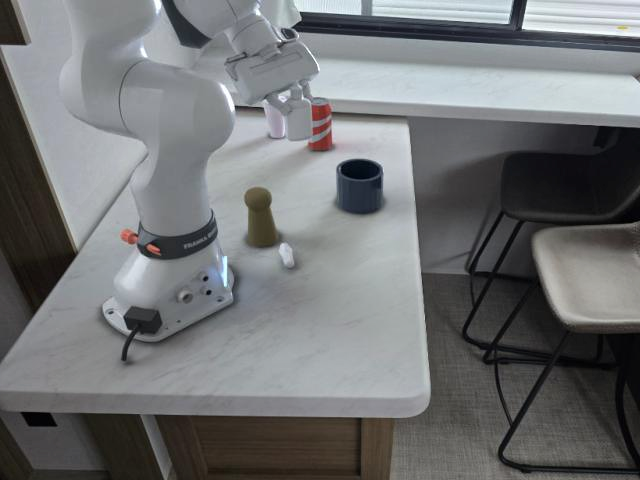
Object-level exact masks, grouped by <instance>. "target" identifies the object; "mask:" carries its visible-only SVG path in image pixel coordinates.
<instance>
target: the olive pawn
mask: <svg viewBox="0 0 640 480" xmlns="http://www.w3.org/2000/svg"><path fill="white" fill-rule="evenodd" d="M243 201H244V204H245V207H247V209H248V210H247V213H248V214H247V242H248V243H249V244H250V245H252V246H253V247H257V248H268V247H271V246H273V245H275V244H276V243H277V242H278V240H279V234H278V231H277V226H276V222H275V219H274V216H273V211H272V208H271V206H272V203H273V202H272V201H273V195H272V193H271V191H269V190H268V188H266V187H262V186H254V187H251V188H249V189H247V190H246V191H245V193H244V195H243Z"/></svg>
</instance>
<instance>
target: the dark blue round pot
mask: <svg viewBox="0 0 640 480" xmlns="http://www.w3.org/2000/svg"><path fill="white" fill-rule="evenodd" d="M384 171H385V170H384V167H383V166H382V164H380V163H379V162H377V161H375V160H372V159H369V158H368V159H367V158H360V157H359V158H357V157H355V158H350V159H346V160H343V161H341V162H340V163H339V164H338V165H336V169H335V181H336V184H335V185H336V204H337V205H338V207H339V208H340V209H341V210H343V211H345V212H347V213H351V214H355V215H356V214H358V215H359V214H360V215H364V214H370V213H374V212H376V211H378V210H379V209H380V208H381V207H382V205H383V201H384V199H383V198H384V196H383V195H384V176H385V175H384V174H385V172H384Z"/></svg>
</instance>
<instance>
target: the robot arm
mask: <svg viewBox="0 0 640 480" xmlns="http://www.w3.org/2000/svg"><path fill="white" fill-rule="evenodd" d="M61 2H62V5H63V8H64V10H65V14H66V16H67V19H68V20H67V21H68V23H69V27H70V33H71V43H72V44H71V54H70V57H69V59H68V60H67V61H65V63H64V65H63V66H62V68H61V71H60V74H59V79H58V92H59V97H60V99H61V102H62V104H63V106H64V108H65V109H66V111H67V113H69V114H70V115H71V116H72V117H74V118H75V119H77V120H79V122H80V121H81V122H83V123H84V124H86V125H88V126H90V127H92V128H95V129H96V130H99V131H101V132H103V133H107V134H111V135H116V136H120V137H125V138H129V139H132V140H137V141H140V142H141V143H142V144H143V145H144V146H145V148H146V151H147V155H148V158H147V159H145V160H144V161H142V162H141V163H140V164H138V165H137V167H135V169H134V171H133V172H132V175H131V176H130V181H129V187H130V191H131V194H132V197H133V201H134V204H135V207H136V210H137V215H138V217H139V221H138V228H137V233H136V232H133V231H132V230H131V229H128V228H126V229H123V230H122V231H121V232H120V237H119V238H120V239H121V241H123V242H124V243H127V244H128V245H136V246H135V248H134V249H133V251H131V254H130V255H128V257H127V259H126V260H125V262H124V264H123V265H122V266H121V268H120V269H119V270H118V272H117V273H116V274H115V275H114V277H113V278H112V284H111V285H112V287H111V288H112V296H111V297H110V298H109V299H107V300H106V301H105V302H104V303H103V304H102V313H103V316H104V319H105V320H106V321H107V322H108V324H109V325H110V326H112V327H113V328H114V329H115V330H117V331H118V332H119V333H122V335H124V336H126V337H127V338H126V340H125V342H124V344H123V347H122V351H121V358H120V361H123V362H126V361H127V359H128V352H129V348H130V346H131V344H132V341H133V340H136V341H140V342H147V343H148V342H149V343H157V342H160V341H163V340H165V339H166V338H168V337H170V336H172V335H174V334H176V333H177V332H178V333H179V332H180V331H181V330H183V329H185V328H187V327H189V326H191V325H193V324H195V323H197V322H199V321H201V320H203V319H205V318H206V317H209V316H210V315H212V314H215V313H216V312H218V311H220V310H222V309H224V308H227V307H228V306H230V305H232V304H233V303H234V295H233V292H232V290H233V287H234V283H235V275H234V273H233V271H232V269H231V268H230V266H229V264H228V258H227V255H225V256H224V253H223V250H222V247H221V244H220V240H219V238H218V234H219V229H218V224H217V222H218V221H217V218H216V215H215V212H214V210H213V209H212V207H211V202H210V196H209V190H208V183H207V167H208V163H209V160H210V158H211V156H212V155H213V154H214V153H215V152H216V151H217V150H219V149H221V148H222V147H223V146H225V144H226V143H227V142H228V141H229V139H230V138H231V136H232V134H233V131H234V128H235V125H236V107H235V106H236V105H235V102H234V100H233V97H232V94H231V92H230V91H229V89H228V88H227V86H226V85H225V84H224V83H222V82H221V81H219V80H216V79H215V78H213V77H211V76H208V75H206V74H204V73H203V72H202V73H201V72H199V71H196V70H194V69H192V68H187V67H182V66H179V65H178V66H177V65H173V64H168V63H162V62H157V61H153V60H151V58H150V57H149V56H148V54H147V51H146V48H145V43H144V36H146V35H147V34H150V32H151V31H153V29H154V28H155V27H156V26H157V25H158V23H159V21H160V18H161V21H162V23H163V25H164V27H165V29H166V30H167V32H168V33H169V35H170V36H171V38H173V39H174V40H175V41H176V42H177V43H178V45H180V46H182V47H185V48H191V49H196V50H202V49H203V47H205V46H206V45H208V44H209V43H210V42H212V41H213V40H214V39H215V38H216V37H218V36H219V35H221V34H222V33H224V34H225V35H226V38H227V39H228V42H229V45H230V46H231V48H232V49H233V51H234V52H235V55H233V56H228V57H226V59H225V62H224V70H225V72H226V73H227V75H228V76H229V78H230V80H231V82H232V85H233V87H234V88H235V90H236V92H237V93H238V95H239V97H240V99H241V100H242V102H243V103H244V104H247V106H253V105H255V104H258V103H262V101H263V100H267V102H268V103H269V104H270V105H271V106H273V107H274V108H276V109H278V110H279V111H280V113H281V114H282V116H284V117H285V116H287V115H289V114H290V113H291V112H292V109H291V108H290V106H289V104H288V103H287V104H284V103H283V102H282V101H281V100H279V99H278V97H279V96H278V95H281V94H283V93H286V92H287V91H290V87H291V86H293V83H294V80H297V81H298V84H299V86H301V87H302V92H303V97H304V98H307V99H308V100H309V101H310V102H311V104H312V103H313V102H314V98H313V97H314V96H313V95H312V92H311V86H310V83H309V82H311V81H313V80H314V79H316V77H317V76H318V75H319V74H320V66H319V64H318V62H317V60H316V59H315V57H314V56H313V54H312V53H311V51H310V50H309V48H308V47H307V46H306V45H305V44H304V43H303V42H302V41H301V40H298V39H299V38H300V36H299V34H298V31H296V29H295V28H291V27H290V28H289V27H283V26H277V25H272V24H271V23H270V21H269V20H268V19H267V18H266V16H264V15H263V14H262V13H261V12H260V10H259V9H261V7H262V2H263V0H61Z"/></svg>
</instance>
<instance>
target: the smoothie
mask: <svg viewBox="0 0 640 480" xmlns="http://www.w3.org/2000/svg"><path fill="white" fill-rule="evenodd" d="M278 96H279V97H278V99H279V100H281V101H282V102H283V103H284V102H285V101H286V100H288V98H287V97H286V96H285V95H281V94H278ZM261 105H262V106H263V110H264V113H265V119H266V122H267V127H268V131H269V136H270V137H271V138H274V139H281V138H284V137H285V125H284V116H282V114H281V113H280V111H279V110H278V109H276V108H274V107H273V106H271V105H270V104H269V103H268V102H267V100H263V101H261Z"/></svg>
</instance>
